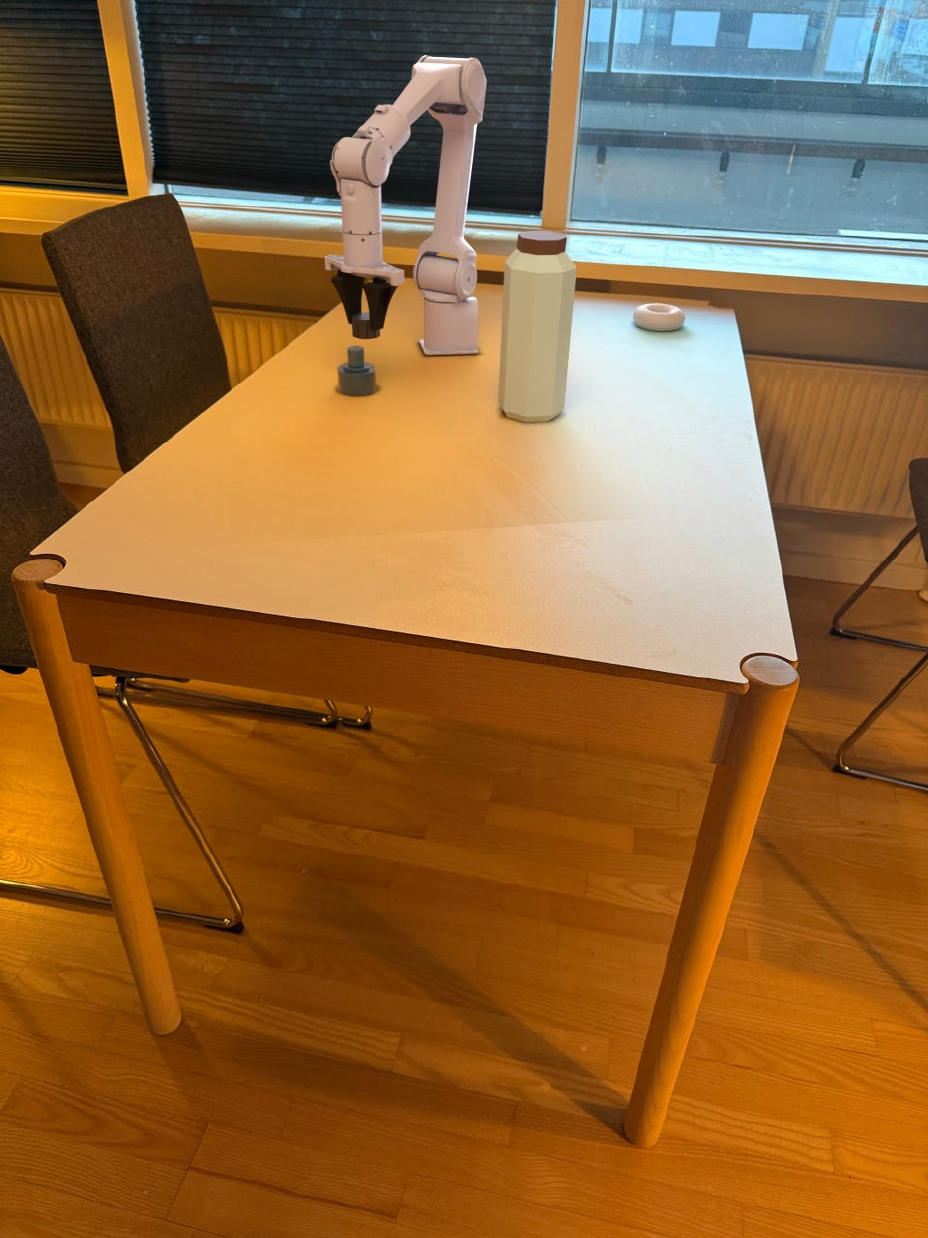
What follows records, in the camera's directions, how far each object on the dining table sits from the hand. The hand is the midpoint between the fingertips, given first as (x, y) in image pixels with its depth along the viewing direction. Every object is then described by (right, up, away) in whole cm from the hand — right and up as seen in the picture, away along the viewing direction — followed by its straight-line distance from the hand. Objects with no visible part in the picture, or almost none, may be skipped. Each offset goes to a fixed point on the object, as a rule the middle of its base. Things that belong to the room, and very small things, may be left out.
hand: (365, 325), depth 137 cm
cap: (0, -1, +1) cm, 1 cm away
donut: (+53, +12, +37) cm, 66 cm away
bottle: (-2, -9, +4) cm, 10 cm away
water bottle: (+25, -14, -3) cm, 29 cm away
